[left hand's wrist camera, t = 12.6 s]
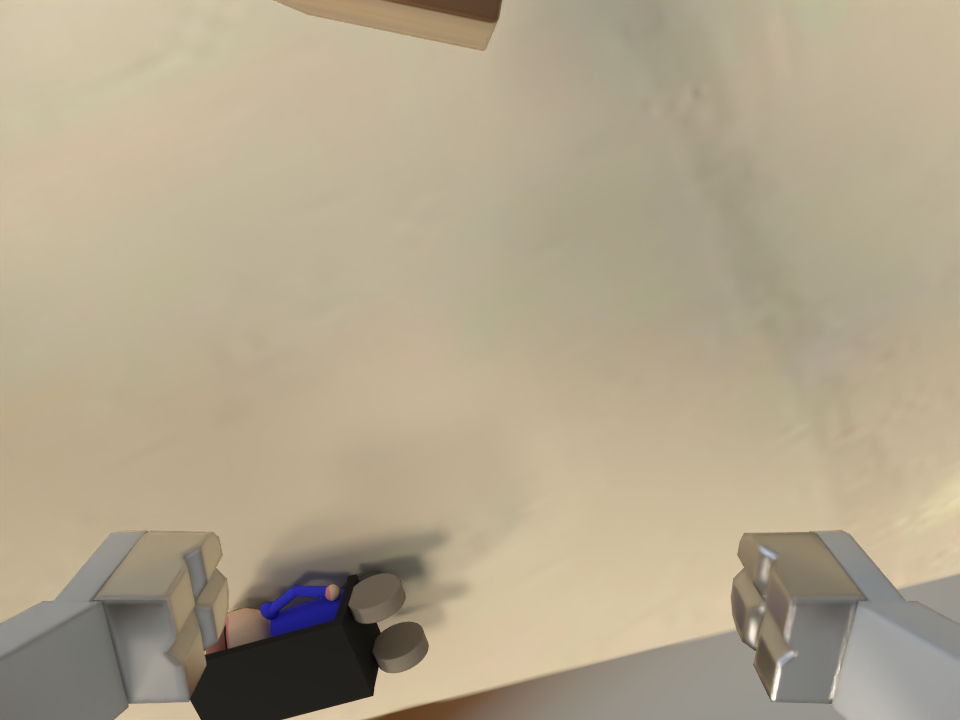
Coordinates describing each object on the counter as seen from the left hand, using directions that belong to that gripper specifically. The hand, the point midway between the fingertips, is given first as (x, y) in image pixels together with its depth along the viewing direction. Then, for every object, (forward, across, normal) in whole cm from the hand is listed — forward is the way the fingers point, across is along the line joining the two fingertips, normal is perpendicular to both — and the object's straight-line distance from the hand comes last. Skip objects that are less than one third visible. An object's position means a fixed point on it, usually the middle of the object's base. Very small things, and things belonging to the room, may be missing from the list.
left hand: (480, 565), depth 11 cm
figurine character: (+31, +12, +28) cm, 43 cm away
